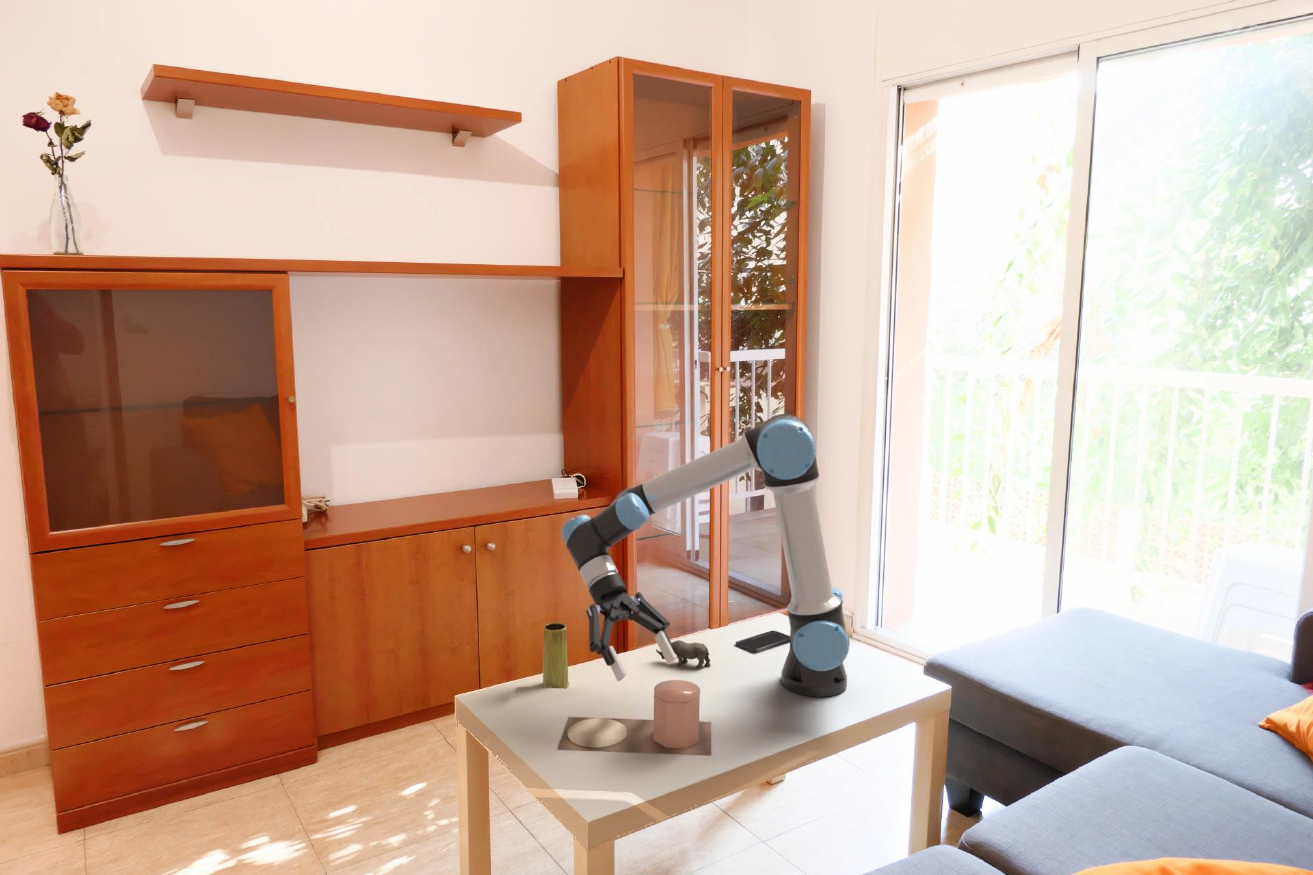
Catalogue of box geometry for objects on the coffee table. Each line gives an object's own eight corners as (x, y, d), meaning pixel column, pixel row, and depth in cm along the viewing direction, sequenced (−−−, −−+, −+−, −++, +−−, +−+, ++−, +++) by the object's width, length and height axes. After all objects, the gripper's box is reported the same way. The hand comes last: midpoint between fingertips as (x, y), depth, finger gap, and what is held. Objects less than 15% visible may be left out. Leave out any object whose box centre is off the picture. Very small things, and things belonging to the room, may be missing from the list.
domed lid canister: (677, 721, 182) (678, 676, 180) (708, 737, 175) (709, 690, 174) (644, 735, 176) (644, 688, 174) (675, 752, 169) (675, 703, 167)
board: (711, 727, 182) (711, 721, 182) (711, 761, 168) (711, 755, 168) (568, 722, 184) (568, 716, 184) (557, 755, 170) (557, 749, 170)
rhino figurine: (658, 657, 219) (658, 634, 218) (711, 664, 215) (712, 641, 214) (653, 663, 215) (653, 640, 214) (707, 670, 211) (708, 647, 210)
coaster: (629, 721, 182) (629, 719, 182) (624, 749, 170) (624, 747, 170) (572, 718, 183) (572, 717, 182) (562, 746, 171) (563, 744, 171)
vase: (547, 693, 198) (547, 632, 196) (538, 682, 203) (537, 624, 201) (572, 687, 201) (572, 628, 199) (562, 678, 206) (562, 620, 204)
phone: (794, 638, 231) (755, 651, 222) (794, 642, 231) (754, 655, 222) (773, 629, 237) (733, 642, 228) (773, 633, 237) (733, 646, 228)
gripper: (639, 579, 199) (683, 662, 190) (548, 601, 183) (591, 693, 174) (655, 562, 194) (700, 646, 185) (563, 583, 178) (608, 676, 169)
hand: (648, 669), depth 179 cm, fingers open, 13 cm apart
